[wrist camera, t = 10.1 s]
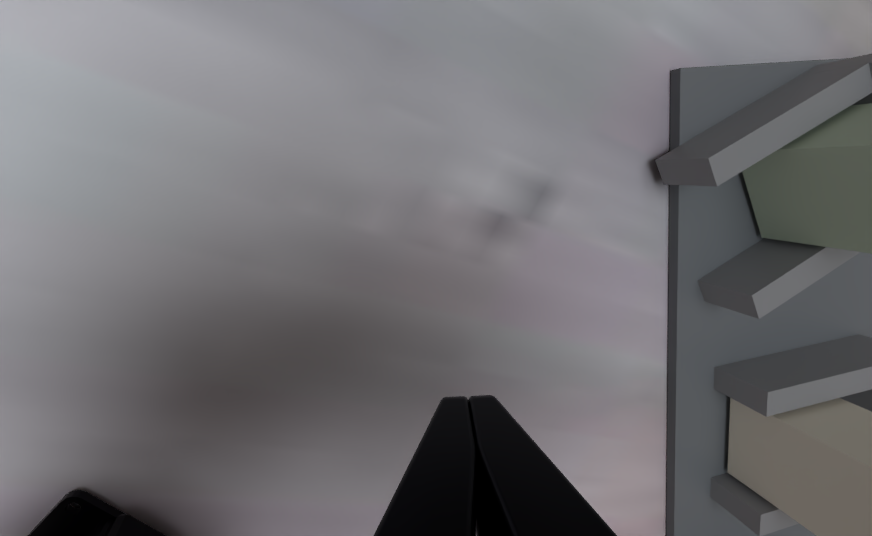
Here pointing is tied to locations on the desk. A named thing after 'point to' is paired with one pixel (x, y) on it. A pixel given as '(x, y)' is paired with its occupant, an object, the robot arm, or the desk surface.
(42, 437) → the desk surface
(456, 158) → the desk surface
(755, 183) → the sage box
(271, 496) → the desk surface
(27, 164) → the desk surface
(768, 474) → the cream box
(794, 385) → the grey three-slot stand
